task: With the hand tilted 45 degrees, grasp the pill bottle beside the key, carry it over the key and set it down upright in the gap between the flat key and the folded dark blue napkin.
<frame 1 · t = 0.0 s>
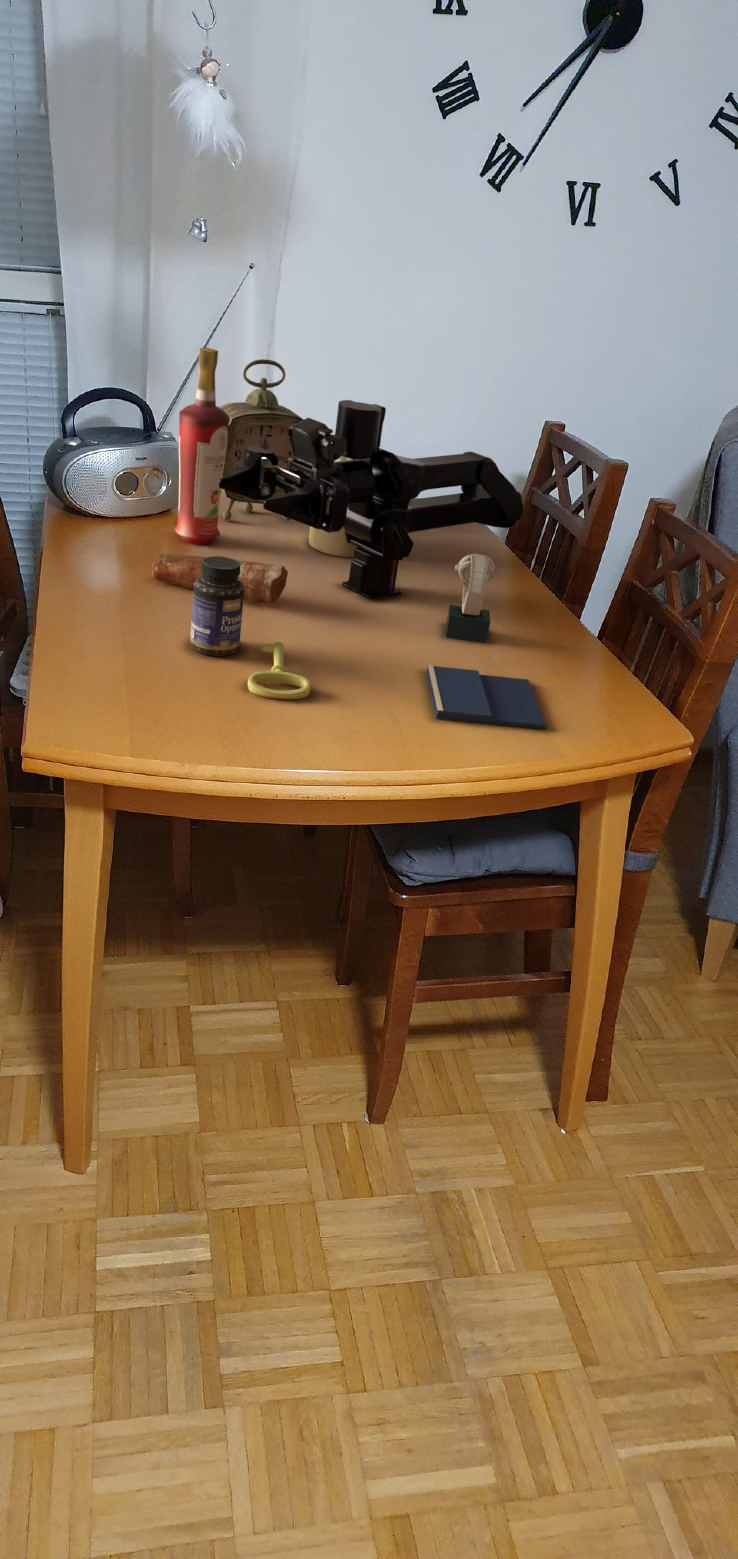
hand: (241, 494, 149), 17 cm above the table, tool horizontal, fingers open, 9 cm apart
watch: (465, 635, 163), on the table
pill bottle: (214, 649, 148), on the table
brown rough cylinder: (216, 595, 164), on the table
tabletop clock: (251, 517, 198), on the table
sugar bowl: (354, 548, 190), on the table
key: (277, 681, 142), on the table
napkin: (483, 700, 144), on the table
liquor: (196, 540, 183), on the table
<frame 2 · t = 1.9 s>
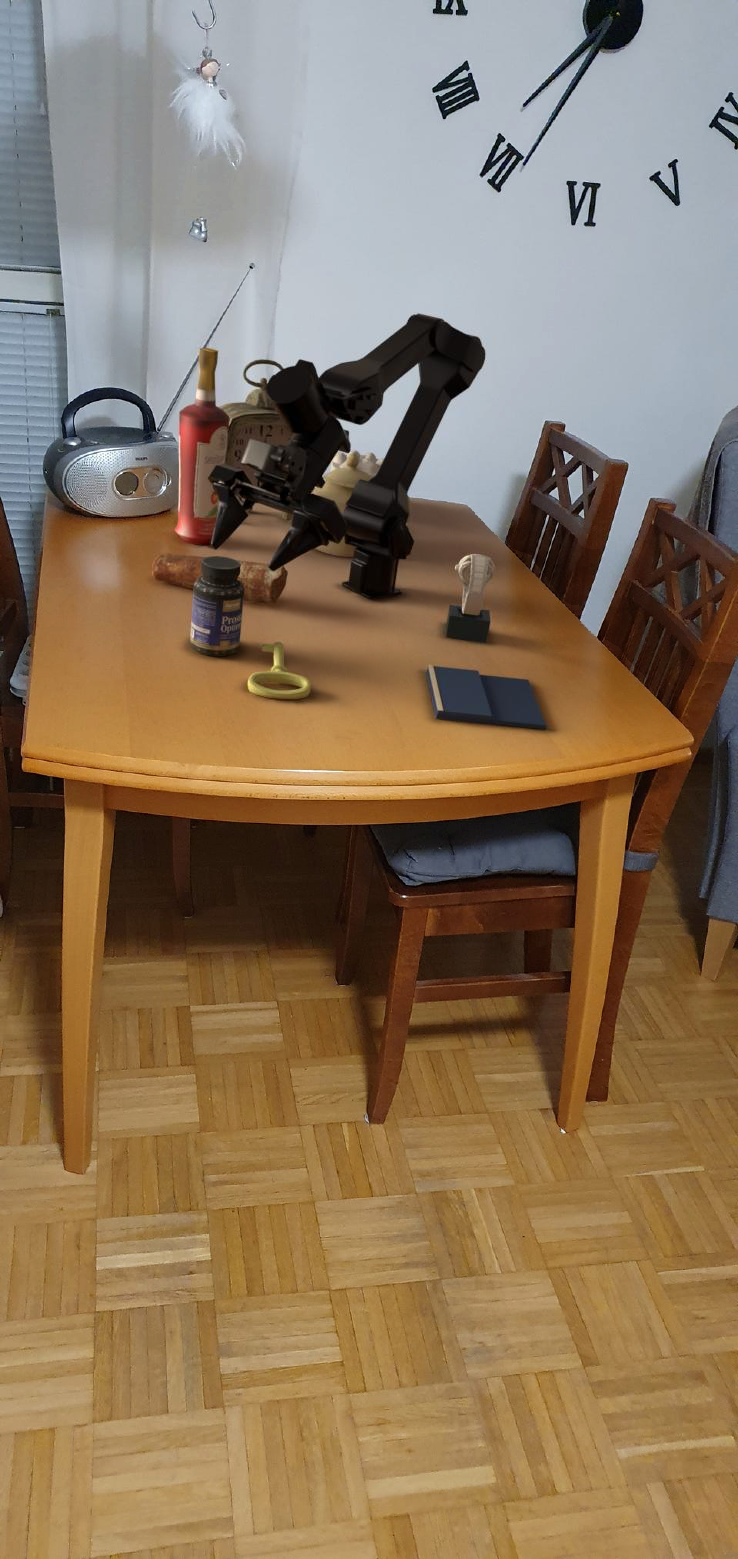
hand: (241, 558, 145), 11 cm above the table, tool tilted 45°, fingers open, 9 cm apart
nothing on the table moved.
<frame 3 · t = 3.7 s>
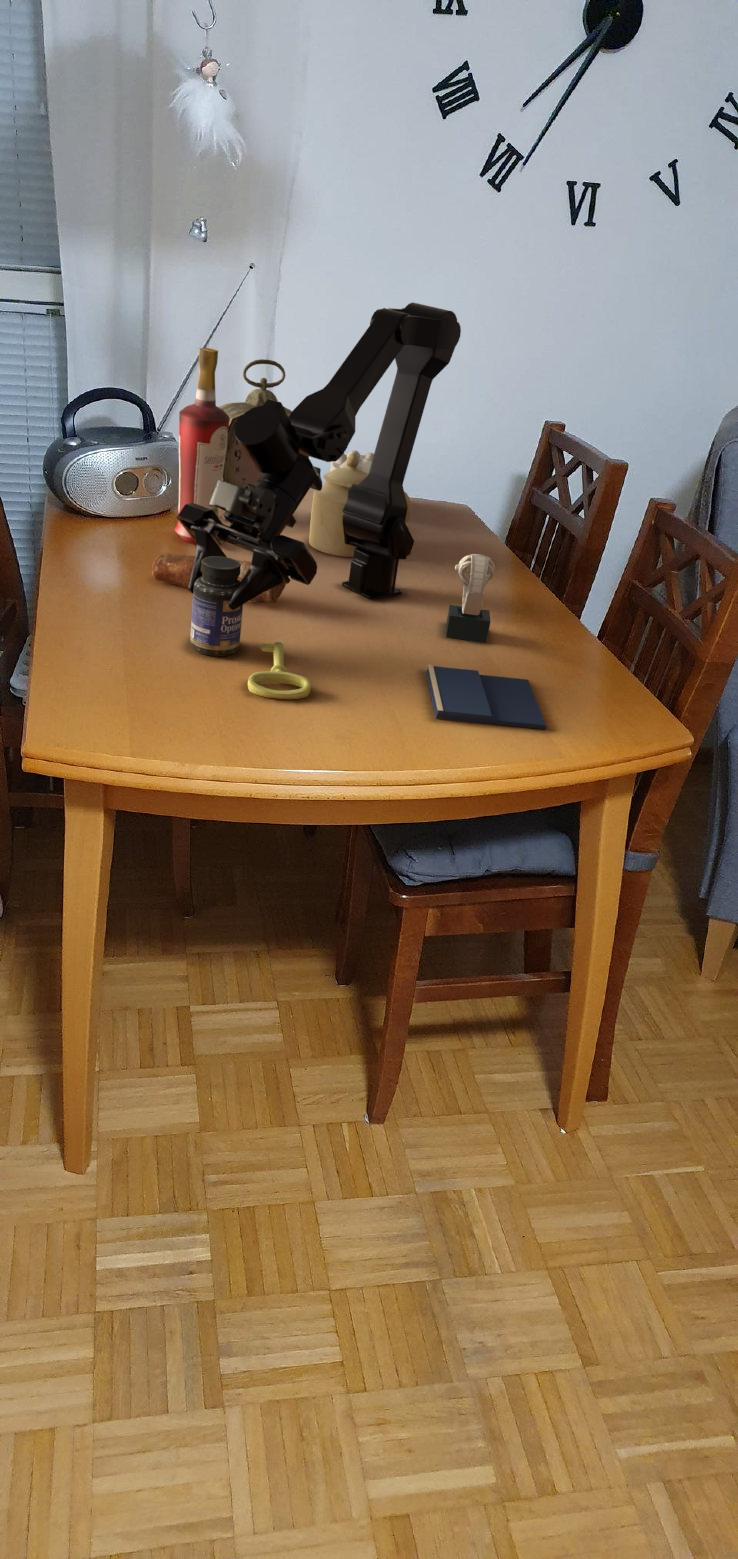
hand: (210, 599, 144), 7 cm above the table, tool tilted 45°, fingers closed on pill bottle, 6 cm apart
pill bottle: (214, 649, 148), on the table, touching gripper
everything else where it was.
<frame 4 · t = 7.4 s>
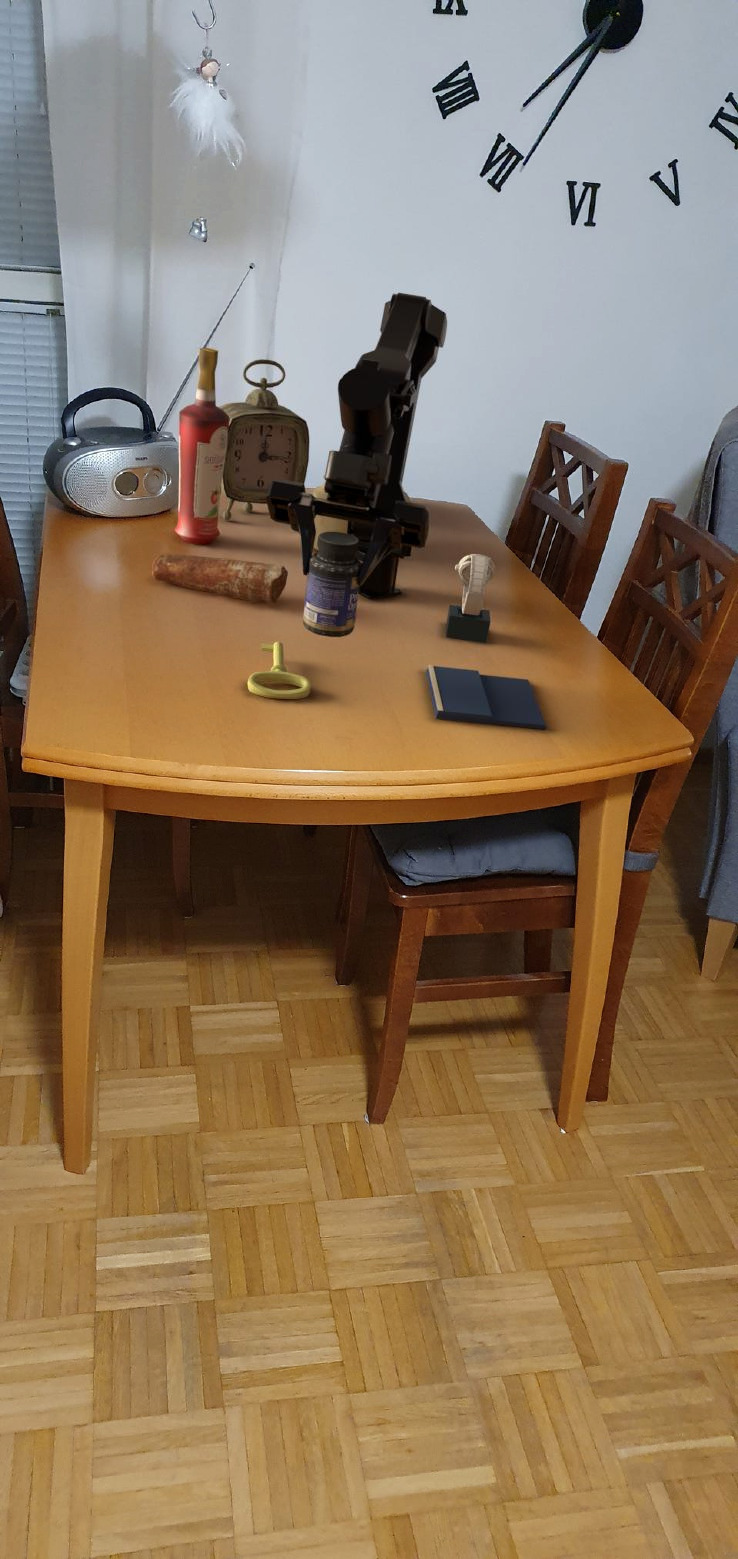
hand: (331, 578, 136), 13 cm above the table, tool tilted 45°, fingers closed on pill bottle, 6 cm apart
pill bottle: (327, 629, 140), point 6 cm above the table, touching gripper
everything else where it was.
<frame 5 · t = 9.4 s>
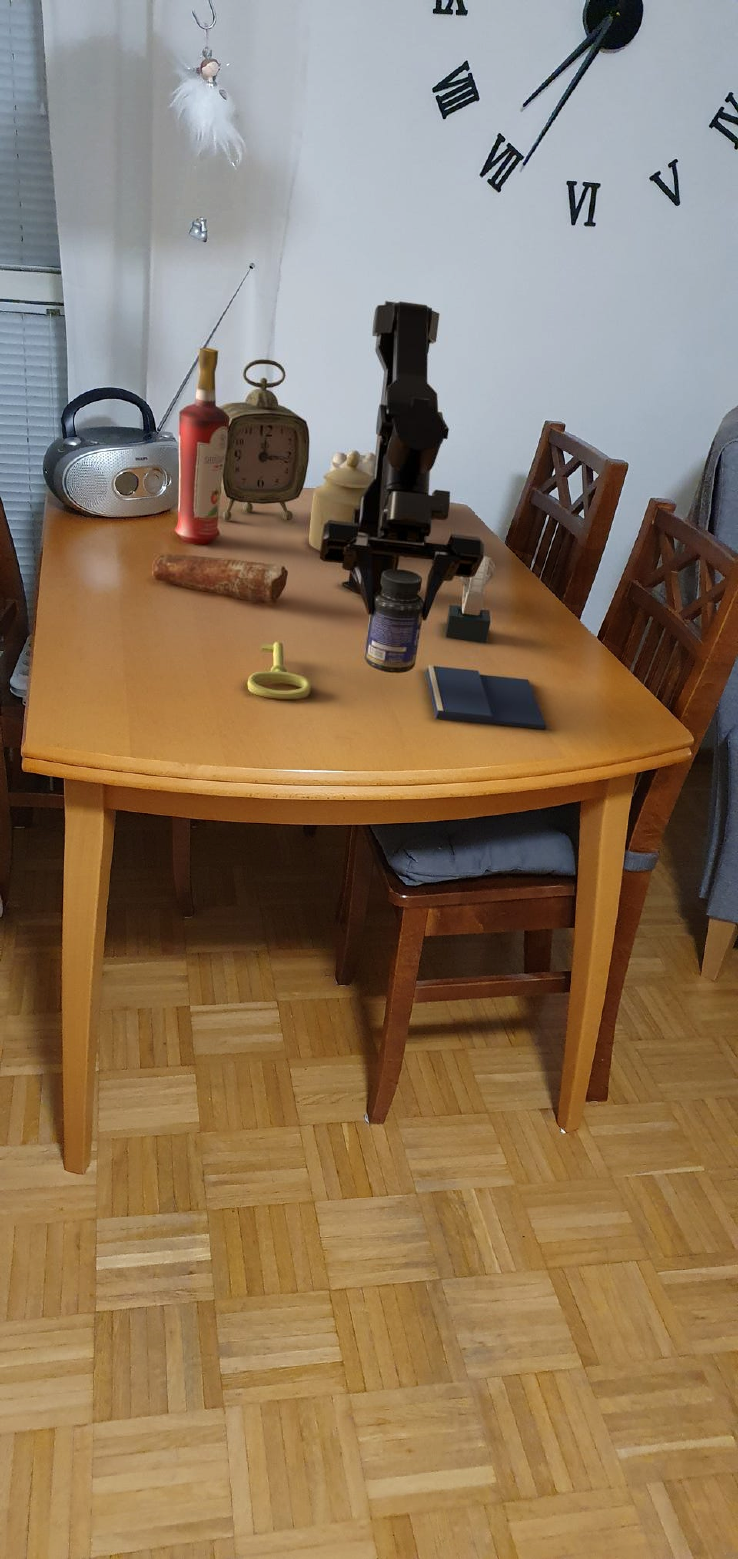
hand: (397, 616, 137), 10 cm above the table, tool tilted 45°, fingers closed on pill bottle, 6 cm apart
pill bottle: (388, 665, 142), point 3 cm above the table, touching gripper
everything else where it was.
when the fingers open (7 cm above the table, at t = 10.9 s): pill bottle stays where it is, on the table.
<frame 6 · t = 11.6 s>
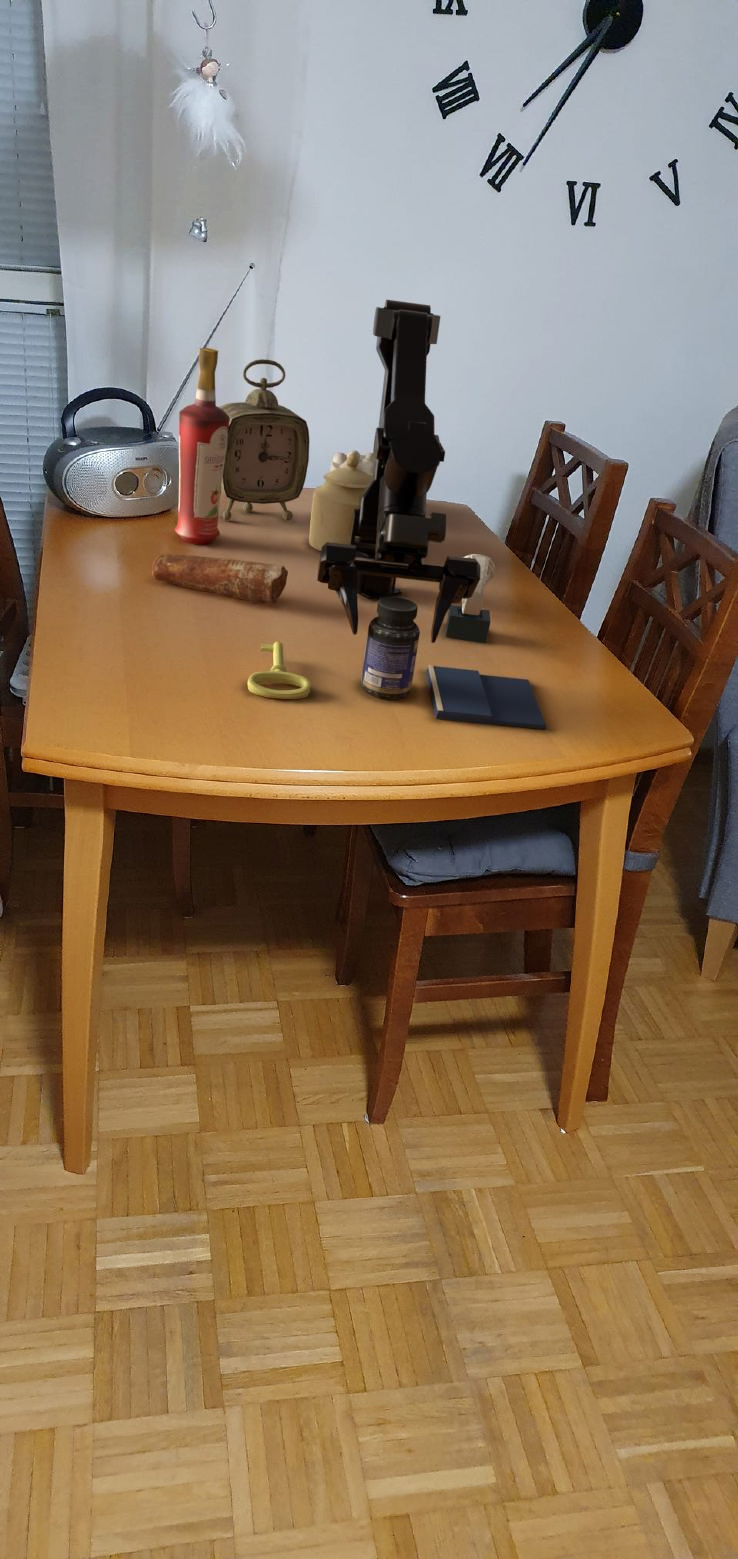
hand: (394, 637, 138), 7 cm above the table, tool tilted 45°, fingers open, 9 cm apart
pill bottle: (384, 691, 143), on the table
everything else where it was.
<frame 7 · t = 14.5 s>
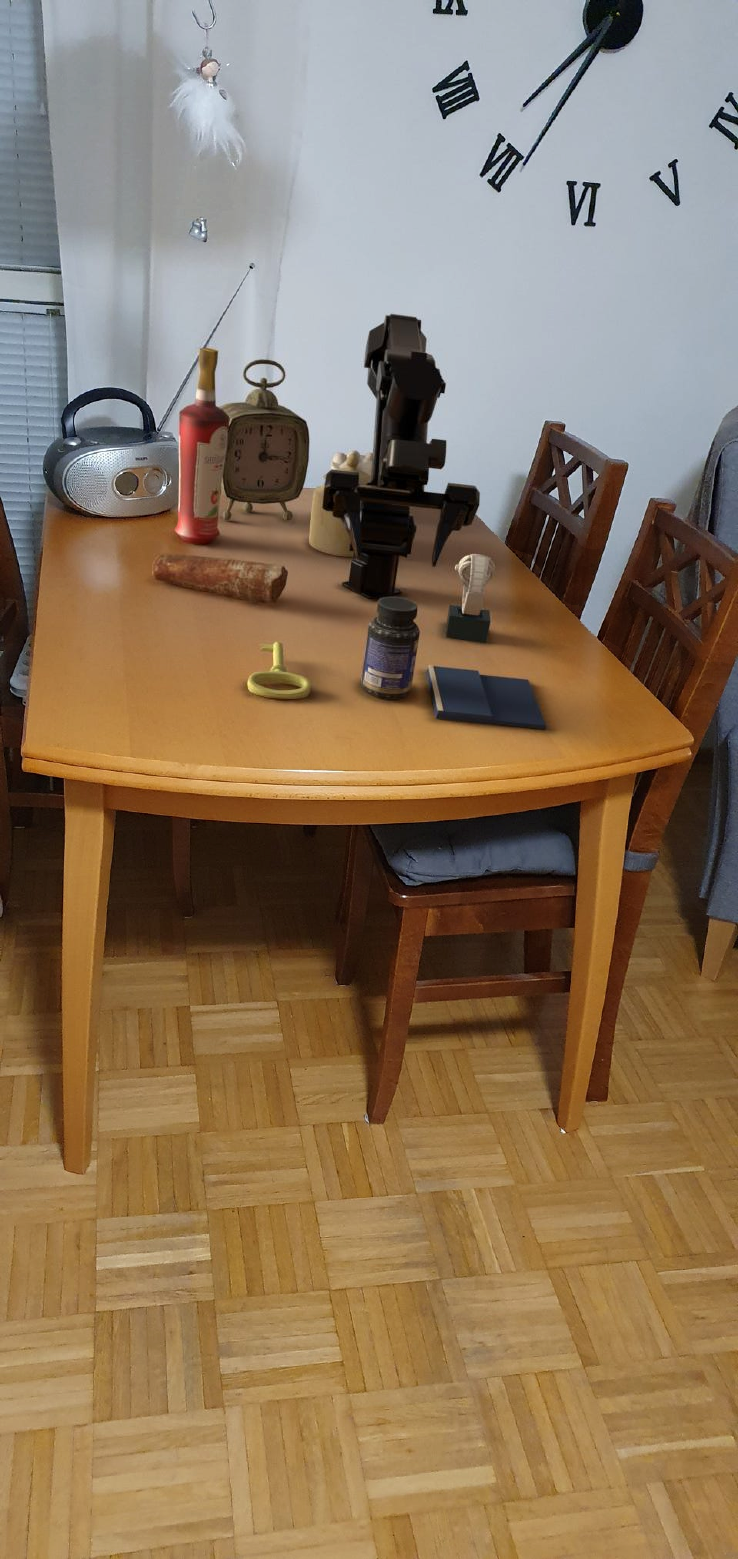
hand: (396, 561, 143), 14 cm above the table, tool tilted 45°, fingers open, 9 cm apart
nothing on the table moved.
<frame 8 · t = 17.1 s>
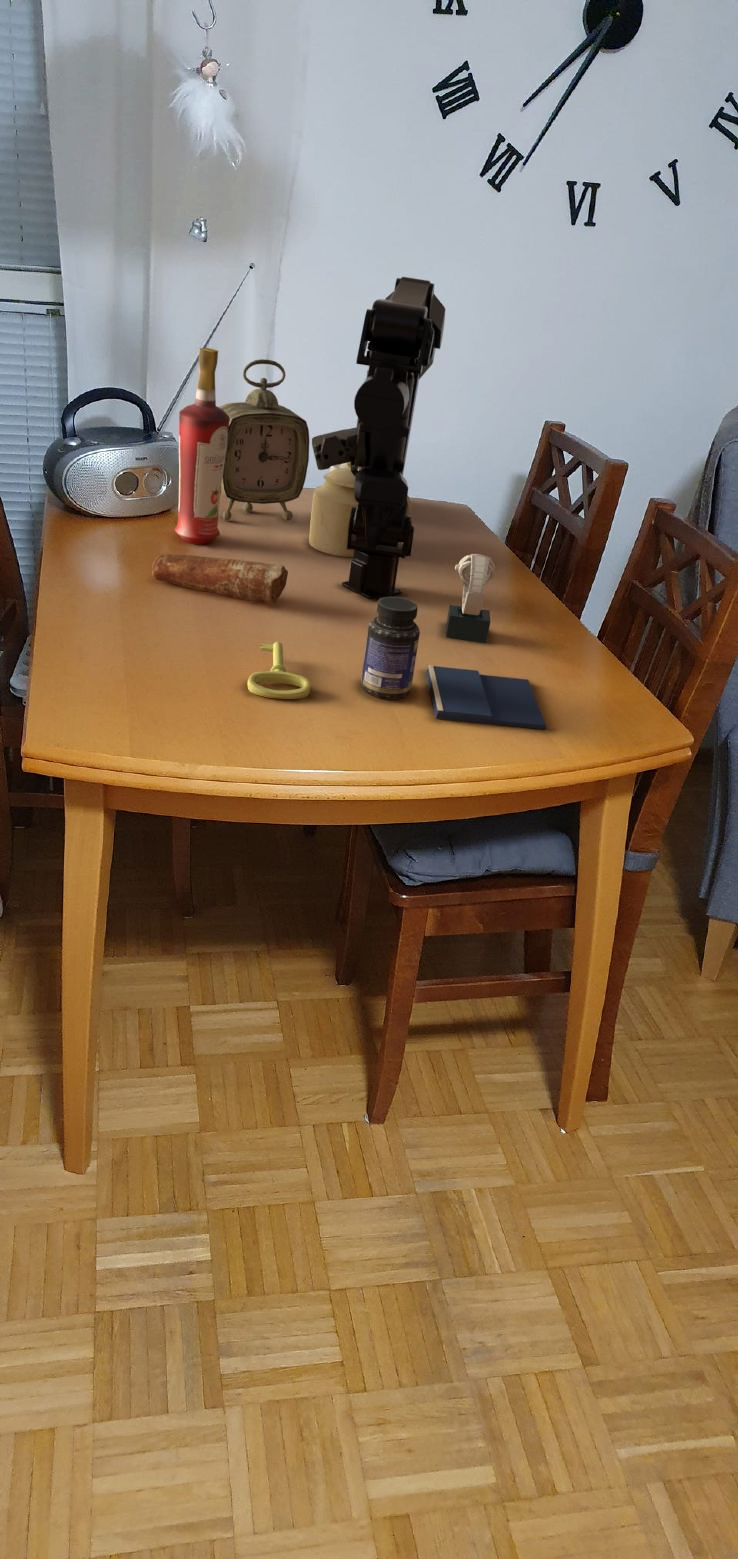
hand: (369, 537, 152), 13 cm above the table, tool pointing down, fingers open, 9 cm apart
nothing on the table moved.
at the end: pill bottle 13.0 cm from the key (horizontally); pill bottle 12.0 cm from the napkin (horizontally); pill bottle tilted 0° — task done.
